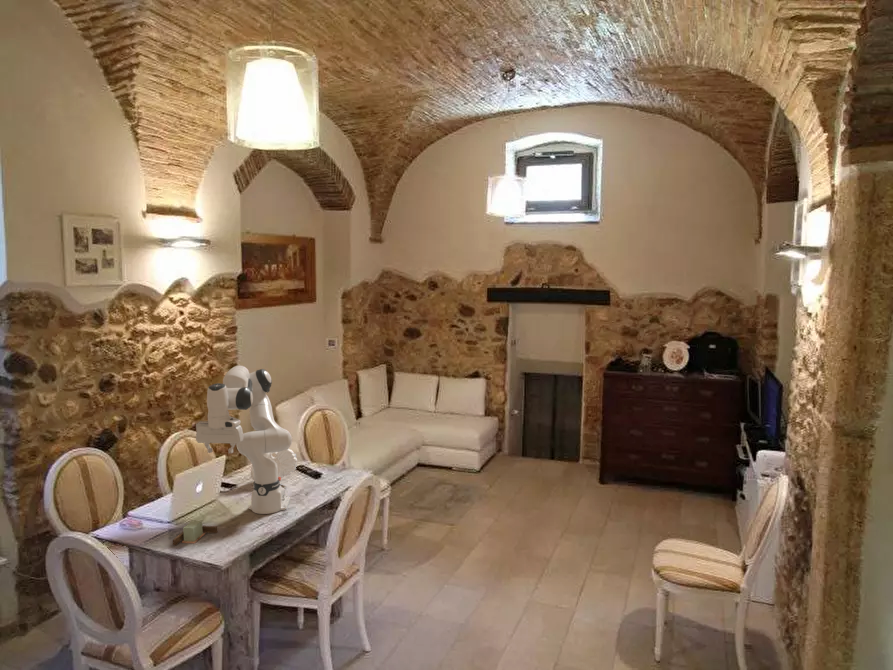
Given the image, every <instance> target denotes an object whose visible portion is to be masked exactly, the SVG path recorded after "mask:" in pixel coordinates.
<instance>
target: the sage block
mask: <svg viewBox="0 0 893 670" xmlns="http://www.w3.org/2000/svg"><path fill="white" fill-rule="evenodd" d="M202 526H203V520H191V521H190V522H189V523H187V524H186V525H185V526H184V527H183V528H182V529H183V531H182V532H183V533H184V539H183V540H184V541H192V542H194V541H195V540H196V539H197V538H199V537H200V536H201V535H202V534H203V529H202Z"/></svg>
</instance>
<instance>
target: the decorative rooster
mask: <svg viewBox="0 0 893 670" xmlns="http://www.w3.org/2000/svg"><path fill="white" fill-rule="evenodd" d="M273 454H275V456H273ZM295 454H296V453H295V452H294V451H293V450H292V448H291V449H290V447H289V448H288V449H286V450H283V451H280V452H271V453H265V454H263V456H264V457H266V458H268V459H271V460H273V461H275V462H276V464H277V466H278V477H281V479H282V478H284V476H290V475H291V473H293V472H295V467H296V464H297V465H298V458H297V456H296V457H295ZM250 477H251V479H252V480H253V481H254V470H253V466H252V465H251V467H250Z"/></svg>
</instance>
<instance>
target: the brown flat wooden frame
mask: <svg viewBox="0 0 893 670" xmlns="http://www.w3.org/2000/svg"><path fill="white" fill-rule="evenodd" d="M202 529H203V534H202V535H201V536H200V537H199V538H197V539H196V540H195V541H194V542H192V541H184V533H183V531H182V532H180V533H179V534H178V535H177V536H175V537H174V538H173V539H172V546H178V545H179V543H181V544H196V543H197V542H198V541H199V540H200V539H202V537H203V536H205V534H207V533H209V534H211V533H212V534H217V533H218V531H219V530H218V526H215V525H213V526H211V525H202Z"/></svg>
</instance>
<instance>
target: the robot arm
mask: <svg viewBox="0 0 893 670" xmlns="http://www.w3.org/2000/svg"><path fill="white" fill-rule="evenodd" d="M272 384H273V381H272V376H271V374H270V373H269V371H267V370H266V369H265V368H261V369H256V370H255V371H252V372H250V370H249V369H248V368H247V367H246V366H244V365H235V366H233V367H232V368H230V369H229V370H227V372H226V373H225V374H224V376H223V379H222V383H219V382H217V383H214V384H211V385H209V386H208V388H207V392H206V393H207V394H206V407H207V410H208V413H207V421H201V420H200V421H198V422H197V423H196V424H195V430H196V432H195V433H196V434H195V441H196V442H197V443H201V444H204V447H205V448H206V449H207V450H206V451H207V454H208V453H209V454H210V453H211V454H212V453H213V447H211V446H210V444H230V447H229V448H228V449H227V451H228V454H233V453H234V448H235V447H236V448H237V451H238V452H239V454H241V455H242V456H245V457H246V458H247V460H248V461H250V463H251V466H253V470H254V480H253V491H251V494H250V495H251V501H250V504H249V506H248V509H249V510H251V511H252V512H253V513H254V514H258V515H266V514H267V515H268V514H274V513H277V512H281V511H284V510H287V508H288V507H289V504H290V501H291V497H290V496H288V495H286V489H285V488H284V487H283V486H281V483H280V482H281V480H282V478H281V477H278V466H277V464H276V462H275V461H273V460H271V459H268V458H266V457H264V456H263V454H265V453H271V452H280V451H283V450H286V449H288V448H289V449H290V447H291V446H292V442H293V436H292V434H291V432H290V431H289V430H288V429H286V428H283V427H282V426H280V425H279V424H278V423H277V422H276V421H275V417H274V413H273V407H272V403H271V400H270V398H269V395H267V393H270V390H271V387H272ZM231 410H232V411H233V410H241V411H247V410H249V422H250V425H251V427H252V428H253V431H247V432H244V431H243V430H244V429H243V427H242V425H240V424H241V423H242V422H241V419H240V418H236V417H234V416H231V415H230V411H231Z"/></svg>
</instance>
